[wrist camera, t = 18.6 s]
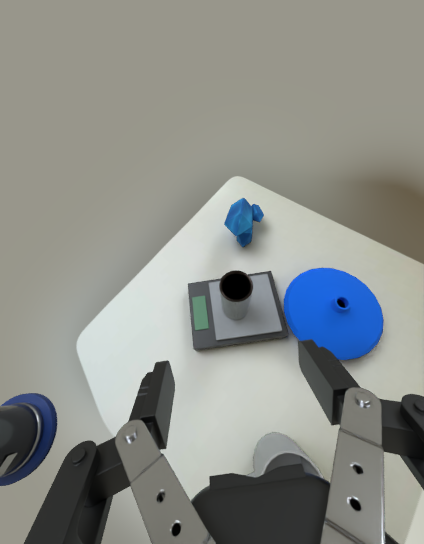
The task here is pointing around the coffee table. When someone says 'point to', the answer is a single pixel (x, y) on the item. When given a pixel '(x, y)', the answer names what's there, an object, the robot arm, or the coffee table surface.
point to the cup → (280, 455)
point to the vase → (334, 312)
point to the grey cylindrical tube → (235, 294)
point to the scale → (251, 328)
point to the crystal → (243, 220)
